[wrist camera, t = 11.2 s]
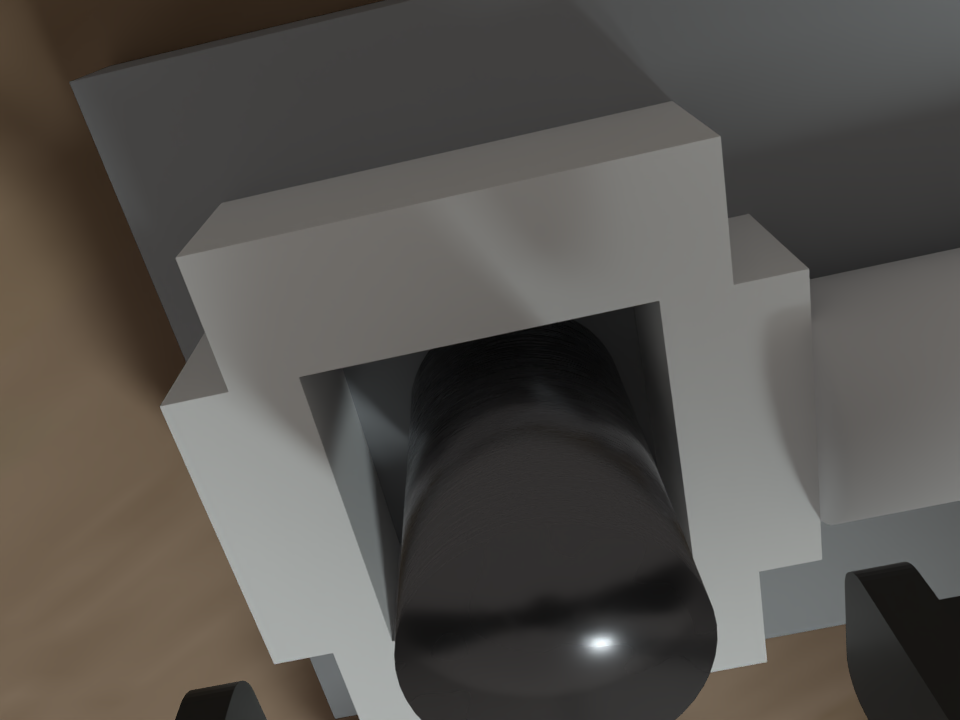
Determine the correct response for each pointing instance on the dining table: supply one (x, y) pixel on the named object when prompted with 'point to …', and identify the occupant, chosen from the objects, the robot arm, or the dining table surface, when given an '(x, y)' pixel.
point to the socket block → (559, 280)
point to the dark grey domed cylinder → (541, 543)
